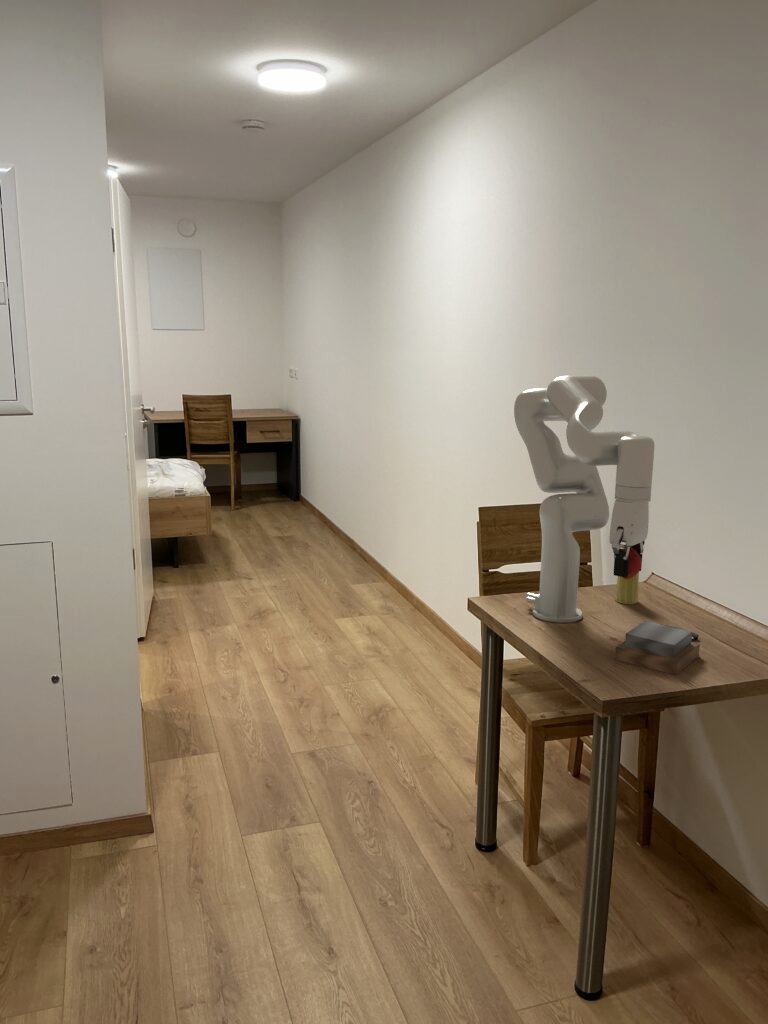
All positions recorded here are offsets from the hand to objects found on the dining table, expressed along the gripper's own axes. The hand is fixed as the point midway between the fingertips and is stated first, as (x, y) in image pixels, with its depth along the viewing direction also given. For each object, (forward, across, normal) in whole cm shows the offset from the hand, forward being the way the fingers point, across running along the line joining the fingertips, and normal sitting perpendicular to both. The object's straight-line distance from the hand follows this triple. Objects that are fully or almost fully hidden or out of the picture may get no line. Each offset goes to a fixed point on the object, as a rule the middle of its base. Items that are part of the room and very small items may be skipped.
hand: (627, 572), depth 193 cm
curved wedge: (+20, -21, +2) cm, 30 cm away
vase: (+20, -39, -17) cm, 47 cm away
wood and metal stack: (+20, -5, +6) cm, 21 cm away
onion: (+2, 0, 0) cm, 2 cm away
